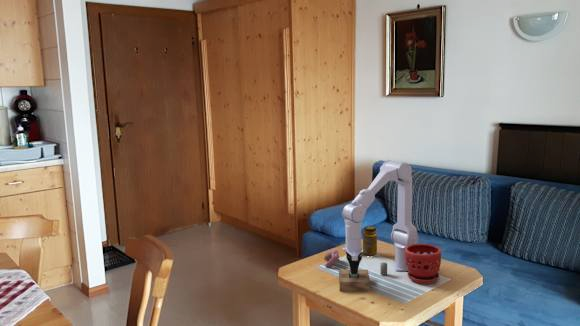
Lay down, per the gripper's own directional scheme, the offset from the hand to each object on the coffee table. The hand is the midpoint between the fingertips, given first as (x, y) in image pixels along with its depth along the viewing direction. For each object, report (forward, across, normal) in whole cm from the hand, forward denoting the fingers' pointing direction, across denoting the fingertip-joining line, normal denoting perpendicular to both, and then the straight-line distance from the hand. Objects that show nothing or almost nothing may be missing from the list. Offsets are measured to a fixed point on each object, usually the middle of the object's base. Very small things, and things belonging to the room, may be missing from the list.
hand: (353, 272), depth 179 cm
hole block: (+5, 0, 0) cm, 5 cm away
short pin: (+5, -9, +12) cm, 16 cm away
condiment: (+5, -31, +8) cm, 32 cm away
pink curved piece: (+5, -21, -8) cm, 23 cm away
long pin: (+3, 0, 0) cm, 3 cm away
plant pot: (+5, -5, +26) cm, 27 cm away
